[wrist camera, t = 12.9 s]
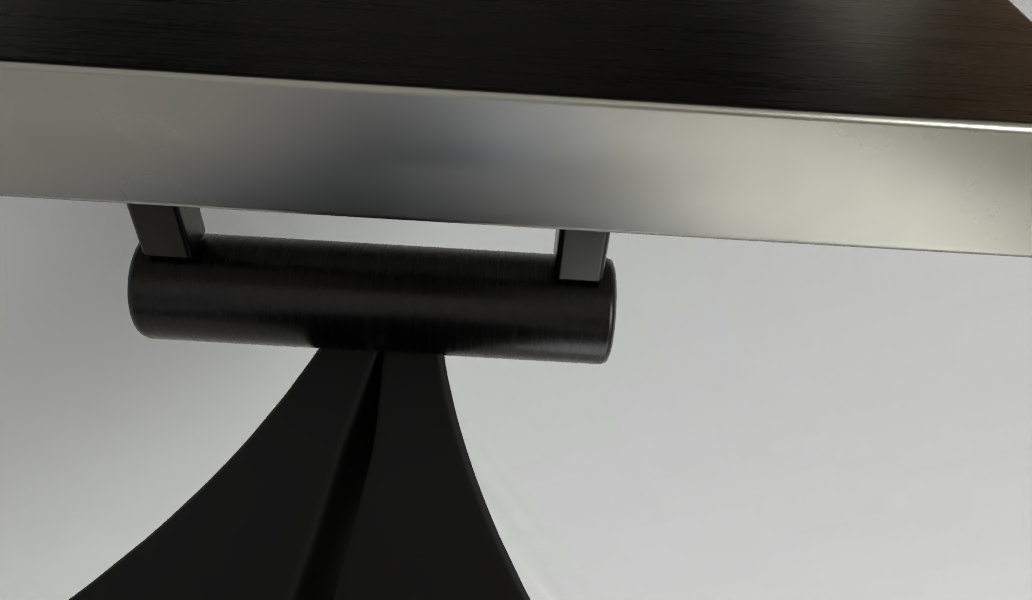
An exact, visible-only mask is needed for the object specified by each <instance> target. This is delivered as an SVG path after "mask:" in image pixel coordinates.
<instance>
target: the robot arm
mask: <svg viewBox="0 0 1032 600" xmlns="http://www.w3.org/2000/svg"><path fill="white" fill-rule="evenodd" d="M69 600H530V598H529V596H528V594H527V592H526V590H525V589H524V586H523V584H522V582H521V580H520V578H519V576H518V574H517V572H516V570H515V568H514V566H513V564H512V561H511V559H510V557H509V555H508V553H507V551H506V549H505V547H504V545H503V543H502V541H501V538H500V536H499V534H498V532H497V529H496V527H495V525H494V522H493V520H492V517H491V515H490V513H489V510H488V508H487V505H486V503H485V500H484V498H483V495H482V492H481V490H480V487H479V484H478V482H477V479H476V476H475V473H474V471H473V468H472V465H471V462H470V459H469V456H468V453H467V449H466V446H465V443H464V440H463V436H462V433H461V430H460V426H459V422H458V419H457V415H456V411H455V407H454V403H453V398H452V394H451V389H450V385H449V381H448V376H447V370H446V365H445V357H444V355H432V354H414V353H397V352H379V351H362V350H344V349H327V348H319V349H318V351H317V352H316V354H315V355H314V356H313V358H312V359H311V361H310V362H309V363H308V365H307V366H306V367H305V369H304V370H303V371H302V373H301V374H300V376H299V377H298V378H297V380H296V381H295V382H294V384H293V385H292V386H291V388H290V389H289V390H288V392H287V393H286V394H285V396H284V397H283V398H282V399H281V401H280V402H279V403H278V404H277V405H276V407H275V408H274V409H273V410H272V411H271V413H270V414H269V415H268V416H267V417H266V419H265V420H264V421H263V422H262V423H261V425H260V426H259V427H258V428H257V429H256V431H255V432H254V433H253V434H252V435H251V436H250V438H249V439H248V440H247V441H246V442H245V443H244V444H243V445H242V446H241V448H240V449H239V450H238V451H237V452H236V453H235V454H234V455H233V456H232V457H231V458H230V460H229V461H228V462H227V463H226V464H225V465H224V466H223V467H222V468H221V469H220V470H219V471H218V472H217V473H216V474H215V475H214V476H213V477H212V478H211V479H210V480H209V481H208V482H207V483H206V484H205V485H204V486H203V487H202V488H201V489H200V490H199V491H198V492H197V493H196V494H195V495H193V496H192V497H191V498H190V499H189V500H188V501H187V502H186V503H185V504H184V505H183V506H182V507H181V508H180V509H179V510H178V511H176V512H175V513H174V514H173V515H172V516H171V517H170V518H169V519H168V520H167V521H166V522H164V523H163V524H162V525H161V526H160V527H159V528H158V529H157V530H155V531H154V532H153V533H152V534H151V535H150V536H148V537H147V538H146V539H145V540H144V541H142V542H141V543H140V544H139V545H137V546H136V547H135V548H134V549H133V550H131V551H130V552H129V553H128V554H126V555H125V556H124V557H123V558H121V559H120V560H119V561H118V562H116V563H115V564H114V565H113V566H111V567H110V568H109V569H108V570H107V571H105V572H104V573H103V574H102V575H100V576H99V577H98V578H97V579H95V580H94V581H93V582H92V583H90V584H89V585H88V586H86V587H85V588H84V589H82V590H81V591H80V592H78V593H77V594H76V595H74V596H73V597H72V598H70V599H69Z"/></svg>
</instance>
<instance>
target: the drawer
mask: <svg viewBox="0 0 1032 600" xmlns="http://www.w3.org/2000/svg"><path fill="white" fill-rule="evenodd" d="M0 196H14V197H31V198H47V199H64V200H81V201H97V202H114V203H127V206H128V209H129V212H130V215H131V218H132V221H133V224H134V227H135V230H136V233H137V236H138V239H139V244H138V246H137V247H136V250H135V252H134V254H133V257H132V261H131V265H130V270H129V276H128V304H129V310H130V314H131V318H132V321H133V323H134V325H135V327H136V329H137V330H138V331H139V332H140V333H141V334H142V335H144V336H146V337H149V338H152V339H169V340H187V341H204V342H222V343H239V344H257V345H274V346H292V347H309V348H327V349H344V350H362V351H379V352H397V353H414V354H432V355H449V356H467V357H484V358H502V359H519V360H537V361H554V362H572V363H589V364H601V363H604V362H606V361H607V359H608V357H609V355H610V352H611V348H612V343H613V337H614V329H615V319H616V299H617V288H616V273H615V268H614V265H613V262H612V260H610V259H608V258H606V255H607V249H608V243H609V237H610V232H616V233H632V234H649V235H666V236H682V237H699V238H716V239H733V240H749V241H766V242H783V243H799V244H816V245H833V246H850V247H866V248H883V249H900V250H916V251H933V252H950V253H967V254H983V255H1000V256H1017V257H1032V21H1031V20H1030V19H1028V18H1027V17H1026V16H1025V15H1024V14H1023V13H1022V12H1021V11H1020V10H1019V9H1018V8H1017V7H1016V6H1015V5H1014V4H1013V3H1011V2H1010V1H1009V0H0ZM200 208H214V209H231V210H248V211H265V212H281V213H298V214H315V215H331V216H348V217H365V218H382V219H398V220H415V221H432V222H448V223H465V224H482V225H499V226H515V227H532V228H549V229H556V234H555V243H554V254H540V253H523V252H506V251H490V250H473V249H456V248H439V247H422V246H405V245H388V244H372V243H355V242H338V241H321V240H304V239H287V238H270V237H254V236H237V235H220V234H204V232H205V227H204V223H203V220H202V216H201V212H200Z"/></svg>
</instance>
